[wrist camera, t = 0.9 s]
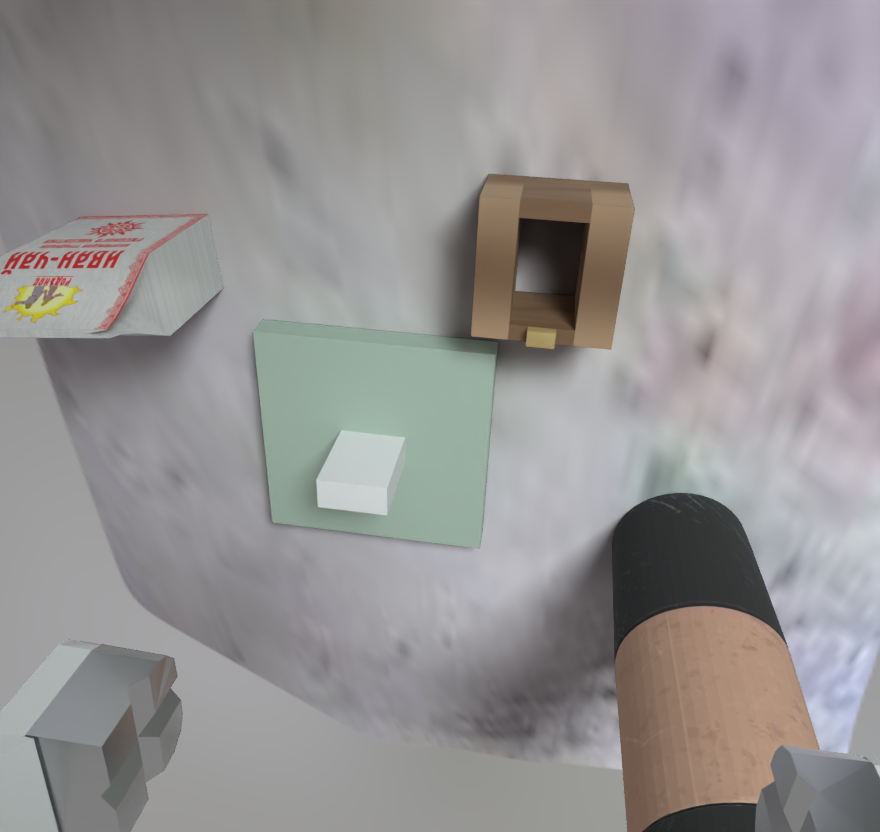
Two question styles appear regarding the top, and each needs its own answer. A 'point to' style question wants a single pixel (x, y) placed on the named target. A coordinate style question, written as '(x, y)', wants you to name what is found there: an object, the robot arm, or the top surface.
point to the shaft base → (376, 430)
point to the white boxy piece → (109, 278)
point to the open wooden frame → (599, 265)
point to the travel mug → (697, 669)
